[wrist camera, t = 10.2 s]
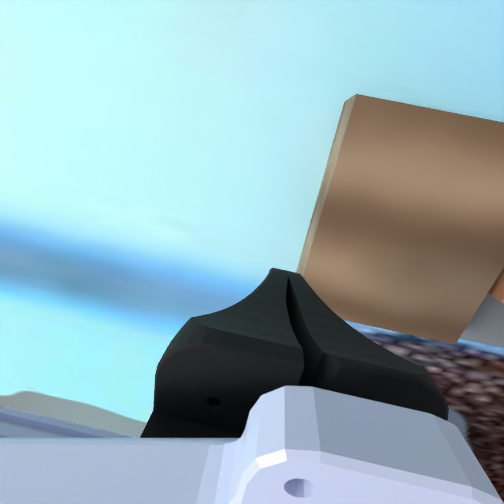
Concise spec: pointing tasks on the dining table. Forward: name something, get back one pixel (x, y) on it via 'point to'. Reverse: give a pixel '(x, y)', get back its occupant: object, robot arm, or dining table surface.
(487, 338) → the mat
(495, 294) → the orange flat block
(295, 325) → the robot arm
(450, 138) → the stand
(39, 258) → the dining table surface
